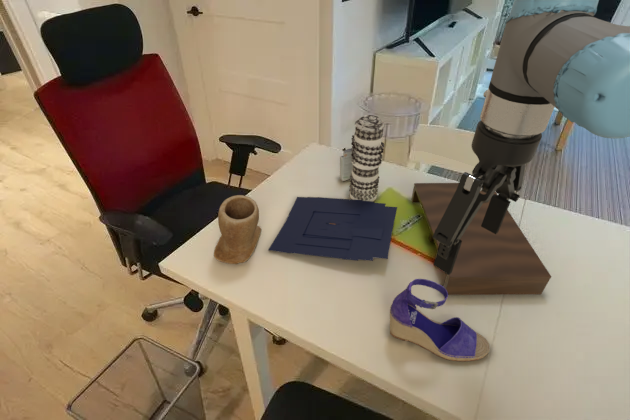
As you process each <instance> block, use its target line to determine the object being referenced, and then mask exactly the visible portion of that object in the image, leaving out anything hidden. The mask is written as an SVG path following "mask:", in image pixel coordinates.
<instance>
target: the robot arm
mask: <svg viewBox="0 0 630 420" xmlns="http://www.w3.org/2000/svg"><path fill="white" fill-rule="evenodd" d="M599 1H600V0H514V1H513V4H512V6H511V9H510V12H509V15H508V16H507V18H506V20H505V27H504V30H503V33H502V37H501V41H500V44H499V48H498V52H497V56H496V58H495V63H494V66H493V70H492V74H491V77H490V81H489V84H488V87H487V89H485V91H484V92H483V95H482V96H483V97H484V102H483V106H482V109H481V112H480V115H479V116H480V117H479V119H480V120H479V121H478V122H477V125H476V127H475V131H474V134H473V138H472V142H471V150H472V153H474V154H475V155H476V157H477V159H478V162H477V164H475V166H474V167H473V168H472V171H471V173H469V172H467V171H464V172H463V173H462V174H461V176H460V179H459V181H458V183H459V184H458V187H457V190H456V192H455V194H454V196H453V197H452V199H451V201H450V203H449V205H448V207H447V209H446V211H445V213H444V215H443V217H442V219H441V221H440V223H439V225H438V227H437V229H436V230H435V233H434V234H433V238H434V239H435V240H437V241H438V242H440V243H439V247H438V250H437V249H436V250H437V251H436V254H435V258H434V261H433V266H434V267H436V268H437V269H439V270H440V271H441V272H443V273H444V274H448V275H449V274H451V273H452V270H453V267H454V264H455V261H456V258H457V255H458V252H459V249H460V246H461V243H462V240H460V238H461V237H462V235H463V234H464V232H465V231H466V229H467V227H468V226H469V224H470V223H471V221H472V220H473V218H474V217H475V215H476V213H477V212H478V210H479V209H480V207H481V206H482V204H483V203H487V202H488V201H489V200H490V199H491V200H490V203H489V206H488V208H487V211H486V214H485V217H484V219H483V222H482V225H481V227H483V228H485V229H487V230H489V231H490V232H492V233H494V234H497V233H498V231H499V229H500V226H501V224H502V222H503V219H504V217H505V214H506V212H507V210H509V207H510V205H511V201H513V202H515V203H517V202H518V200H519V199H520V196H521V195H520V194H518V192H520V191H521V190H522V187H523V181H524V176H525V169H526V165H527V164H529V163H530V162H532V160H533V159H534V157H535V154H536V152H537V150H538V148H539V145H540V143H541V140H542V138H543V134H542V133H543V132H545V131H546V129H547V127H548V124H549V123H550V120H551V117H552V115H553V113H554V109H556V110H558V111H559V113H560V114H561V115H562V116H563V117H564V118H565V119H567V120H568V121H570V122H571V123H575V124H576V125H577V126H578V127H581V128H584V129H585V130H587V131H588V132H590V133H591V134H593V135H595V136H597V137H600V138H604V139H605V138H606V139H613V140H615V139H624V138H625V139H626V138H630V25H621V24H615V23H612V22H610V21H606V20H603V19H600V18H598V17H596V16H595V15H596V14H597V11H598V5H599V3H600V2H599ZM480 191H483V192H485V193H486V194H481V193H479V192H480ZM495 192H496V193H497V195H496V194H494V193H495ZM516 192H517V193H516ZM493 194H494V195H493ZM510 200H511V201H510Z"/></svg>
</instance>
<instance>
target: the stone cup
mask: <svg viewBox="0 0 630 420" xmlns="http://www.w3.org/2000/svg"><path fill="white" fill-rule="evenodd" d="M259 212H260V209H259V206H258V204H257V202H256V200H254V198H251V197H249V196H248V195H243V194H237V195H232V196H230V197H227V198H226V199H224V200H223V202H222V203H221V204H220V206H219V209H218V213H217V220H218V221H217V222H218V228H219V232H220V237H219V239H218V241H217V244H216V245H215V247H214V250H213V257H214V259H216V260H217V261H219V262H222V263H224V264H230V265H237V264H243V263H246V262H247V261H248V260H249V259H250V258H251V256H252V255H253V253H254V252H255V249H256V247H257V244H258V241H259V238H260V236H261V233H262V227H260V226H259V225H258V224H259V222H260V221H259V220H260V213H259Z"/></svg>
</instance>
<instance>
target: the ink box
mask: <svg viewBox="0 0 630 420" xmlns="http://www.w3.org/2000/svg"><path fill="white" fill-rule="evenodd" d="M351 149H352V147H350V148H347V149H344V150H343V155H341V156H339V178H340V180H341V181H342V182H345V181H348V180H349V181H350V180H351V178H350V176H351V173H352V168H353V164H352V161H351V160H352V156H351V154H352V151H351Z"/></svg>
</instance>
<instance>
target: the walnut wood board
mask: <svg viewBox="0 0 630 420" xmlns="http://www.w3.org/2000/svg"><path fill="white" fill-rule="evenodd" d="M458 184H459V182H415V183H414V184H413V187H412V188H413V189H412V194H411V202H412V204H413V203H416V204H417V203H419V204H420V207H421V210H422V212H423V216H424V217H425V220H426V223H427V226H428V228H429V233H428V242H429V243H434V244H435V248H436V250H438V247H439V243H440V242H438V241H437V240H435V239H434V238H433V234H434V233H435V230H436V229H437V227H438V225H439V223H440V221H441V219H442V217H443V215H444V213H445V211H446V209H447V207H448V205H449V203H450V201H451V199H452V197H453V196H454V194H455V192H456V190H457V187H458ZM479 193H481V194H486V193H485V192H483V191H480V192H479ZM494 194H496V195H498V193H496V191H495V193H494ZM494 194H493V195H494ZM490 200H491V199H490ZM490 200H489V201H488V202H487V203H483V204H482V206H481V207H480V209H479V210H478V212H477V213H476V215H475V217H474V218H473V220H472V221H471V223H470V224H469V226H468V227H467V229H466V231H465V232H464V234H463V235H462V237H461V238H460V240H462V243H461V246H460V249H459V252H458V255H457V258H456V261H455V264H454V267H453V270H452V273H451V274H449V275H448V274H446V273H445V274H446V276H445V279H444V282H443V285H442V286H443V287H444V288H445V289H446V290H447V292H448V296H470V295H472V296H476V295H477V296H480V295H481V296H482V295H483V296H484V295H485V296H486V295H491V296H493V295H542V294H543V292H544V290H545V289H546V287H547V285H548V283H549V282H550V280H551V278H552V275H551V274H550V272H549V271H548V269H547V267H546V266H545V265H544V263H543V262H542V260H541V258H540V257H539V255H538V254H537V252H536V251H535V249H534V248H533V246H532V245H531V243H530V241H529V240H528V238H527V237H526V235H525V234H524V232H523V231H522V229H521V228H520V226H519V225H518V224H517V221H516V220H515V219H514V217H513V216H512V215H511V212H510V211H509V209H507V212H506V214H505V217H504V219H503V222H502V224H501V226H500V229H499V231H498V233H497V234H494V233H492V232H490V231H489V230H487V229H485V228H483V227H481V225H482V222H483V219H484V217H485V214H486V211H487V208H488V206H489V203H490Z"/></svg>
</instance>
